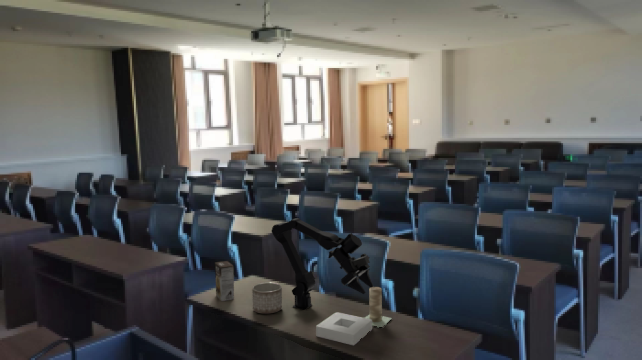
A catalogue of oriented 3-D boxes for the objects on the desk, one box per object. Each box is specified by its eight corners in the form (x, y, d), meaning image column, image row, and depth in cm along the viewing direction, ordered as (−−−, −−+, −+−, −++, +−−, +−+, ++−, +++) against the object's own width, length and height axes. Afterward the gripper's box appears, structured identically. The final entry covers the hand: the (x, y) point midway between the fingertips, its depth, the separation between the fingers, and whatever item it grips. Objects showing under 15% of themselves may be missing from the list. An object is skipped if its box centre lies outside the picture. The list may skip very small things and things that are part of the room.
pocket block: (316, 336, 187) (316, 326, 186) (336, 321, 200) (336, 312, 200) (353, 345, 179) (353, 335, 178) (372, 329, 192) (372, 319, 192)
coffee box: (215, 295, 232) (214, 262, 230) (228, 293, 235) (227, 260, 233) (221, 301, 224) (220, 267, 222) (234, 299, 227) (233, 265, 225)
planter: (269, 318, 204) (268, 294, 203) (246, 311, 211) (246, 288, 210) (287, 308, 215) (287, 285, 214) (265, 302, 222) (265, 280, 221)
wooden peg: (370, 322, 198) (369, 291, 196) (369, 317, 203) (368, 287, 201) (382, 322, 198) (382, 290, 196) (381, 317, 203) (381, 286, 201)
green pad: (359, 323, 198) (359, 321, 198) (369, 314, 207) (369, 313, 207) (382, 328, 193) (382, 326, 193) (391, 319, 202) (392, 318, 202)
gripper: (349, 253, 193) (374, 285, 189) (366, 244, 210) (389, 273, 206) (330, 269, 197) (355, 301, 193) (348, 259, 214) (371, 288, 210)
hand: (368, 290), depth 200 cm, fingers open, 9 cm apart
